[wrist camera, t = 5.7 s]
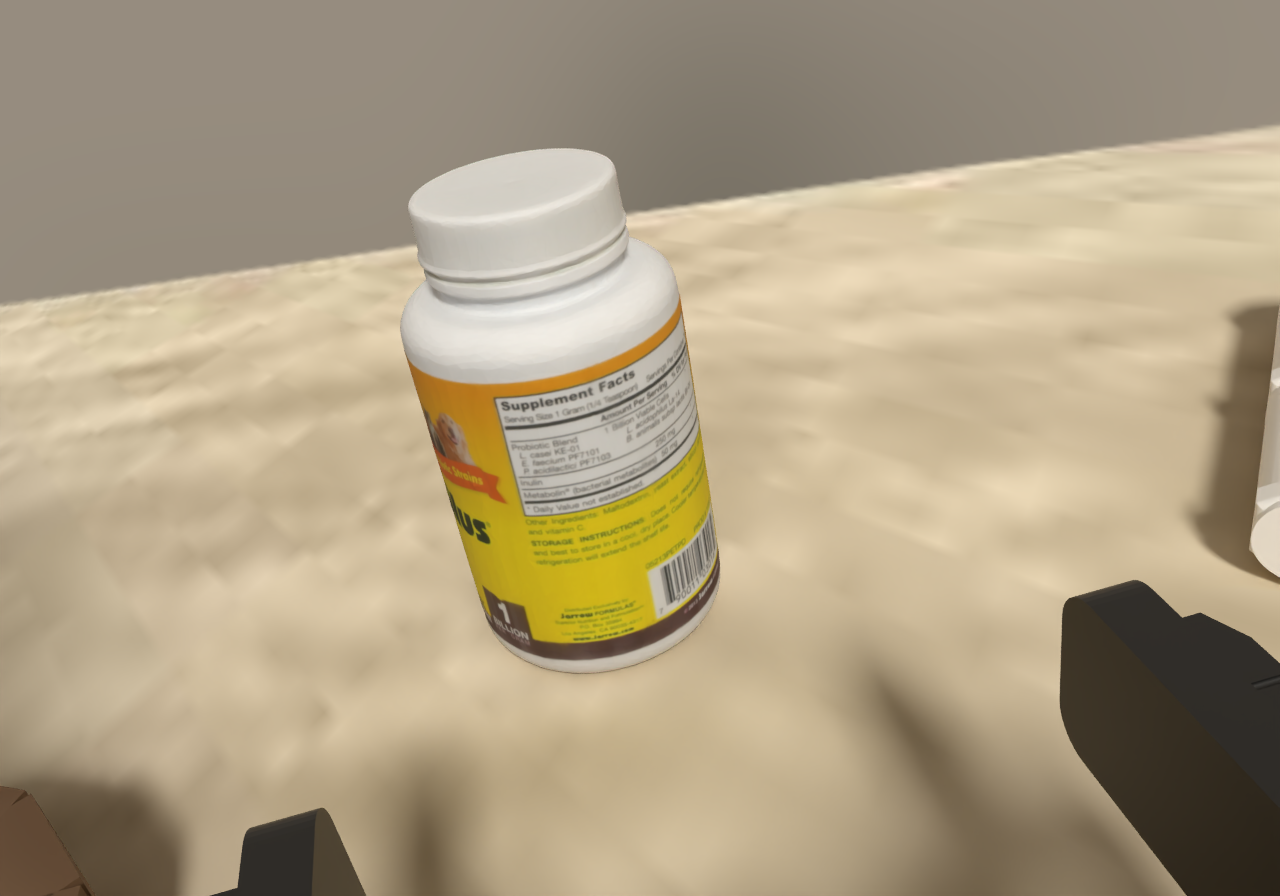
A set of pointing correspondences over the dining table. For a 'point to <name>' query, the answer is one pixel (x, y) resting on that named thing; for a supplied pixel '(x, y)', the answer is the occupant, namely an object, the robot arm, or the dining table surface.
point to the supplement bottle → (561, 410)
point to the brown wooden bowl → (33, 852)
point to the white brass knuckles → (1269, 477)
